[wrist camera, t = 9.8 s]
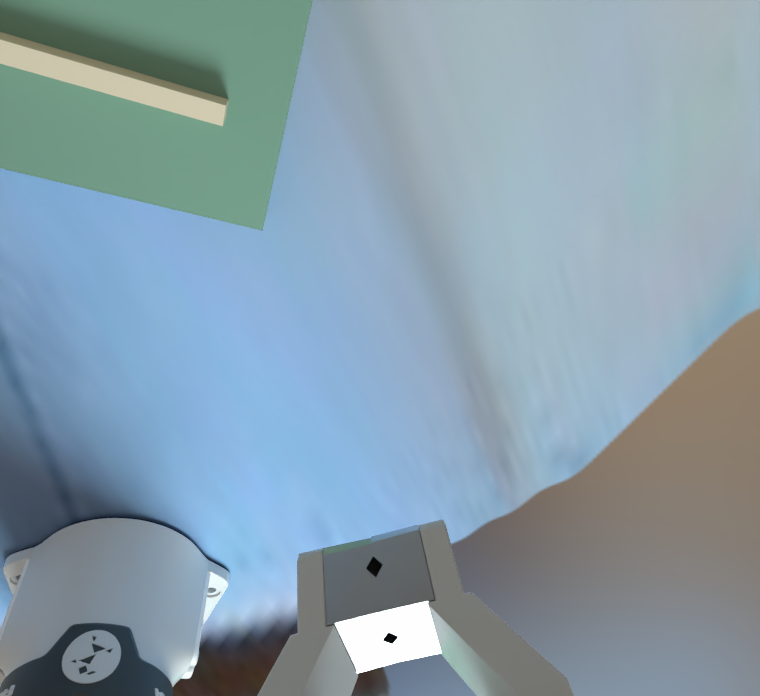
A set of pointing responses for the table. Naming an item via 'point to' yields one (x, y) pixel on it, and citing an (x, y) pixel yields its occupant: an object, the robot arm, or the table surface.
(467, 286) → the table surface
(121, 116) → the putting mat
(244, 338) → the table surface
